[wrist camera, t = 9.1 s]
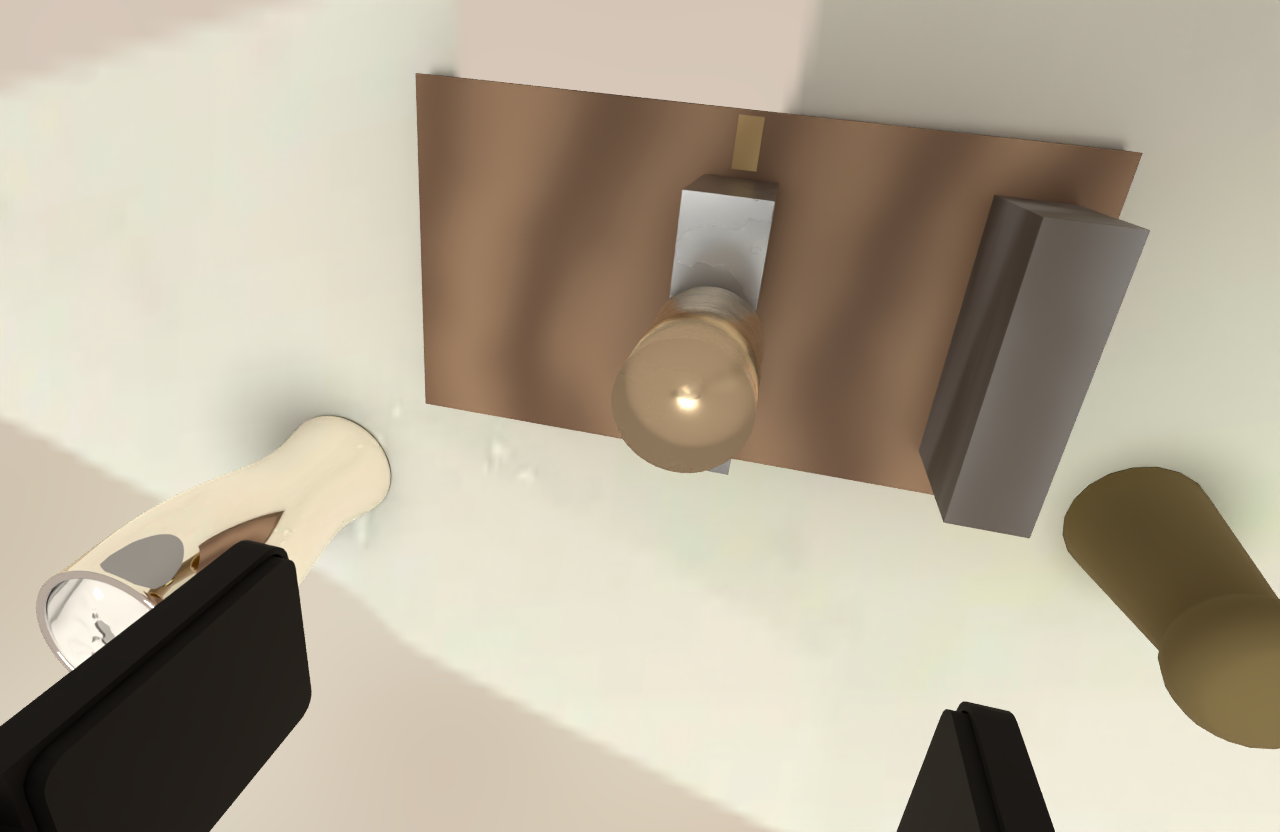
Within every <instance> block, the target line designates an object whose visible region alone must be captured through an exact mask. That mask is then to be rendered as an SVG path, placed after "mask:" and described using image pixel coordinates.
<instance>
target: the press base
mask: <svg viewBox="0 0 1280 832" xmlns="http://www.w3.org/2000/svg"><path fill="white" fill-rule="evenodd" d="M416 101H417V134H418V166H419V199H420V232H421V265H422V298H423V331H424V364H425V397H426V404H432V405H437V406H443V407H449V408H454V409H460V410H465V411H471V412H476V413H482V414H488V415H493V416H499V417H504V418H510V419H515V420H521V421H526V422H532V423H538V424H543V425H549V426H554V427H560V428H565V429H571V430H576V431H582V432H588V433H593V434H599V435H604V436H610V437H615V438H621V439H623V438H622V437H621V435H620V433H619V431H618V429H617V427H616V424H615V422H614V418H613V414H612V406H611V396H612V390H613V385H614V382H615V379H616V377H617V375H618V373H619V371H620V369H621V368H622V366H623V365H624V363H625V362H626V360H627V359H628V357H629V356H630V354H631V353H632V351H633V350H634V348H635V347H636V345H637V344H638V342H639V341H640V339H641V338H642V337H643V335H644V334H645V332H646V331H647V329H648V328H649V326H650V325H651V323H652V322H653V320H654V319H655V317H656V316H657V314H658V313H659V311H660V310H661V308H662V307H663V306H664V305H665V304H666V302H668V301H669V298H670V289H671V281H672V273H673V264H674V256H675V247H676V239H677V230H678V222H679V213H680V205H681V196H682V190H683V189H684V188H685V187H687V186H688V185H689V184H691V183H692V182H693V181H695V180H696V179H698V178H699V177H700V176H702V175H703V174H710V175H718V176H726V177H734V178H742V179H750V180H758V181H766V182H775V183H779V187H778V193H777V199H776V205H775V211H774V216H773V222H772V228H771V234H770V240H769V245H768V251H767V257H766V263H765V269H764V274H763V280H762V286H761V292H760V298H759V303H758V309H757V316H758V318H759V320H760V322H761V324H762V328H763V331H764V337H765V347H764V355H763V362H762V370H761V377H760V385H759V392H758V399H757V407H756V414H755V421H754V425H753V429H752V431H751V434H750V436H749V438H748V440H747V442H746V443H745V445H744V446H743V447H742V449H741V450H740V451H739V452H738V453H737V454H736V455H735V456H734V457H733V458H732V459H738V460H743V461H749V462H754V463H760V464H765V465H771V466H776V467H782V468H788V469H793V470H799V471H804V472H810V473H815V474H821V475H826V476H832V477H838V478H843V479H849V480H854V481H860V482H865V483H871V484H876V485H882V486H888V487H893V488H899V489H904V490H910V491H915V492H921V493H927V494H932V495H934V496H935V499H936V502H937V505H938V508H939V510H940V513H941V516H942V519H943V522H944V523H949V524H955V525H960V526H966V527H971V528H977V529H982V530H987V531H993V532H998V533H1004V534H1009V535H1014V536H1020V537H1025V538H1030V536H1031V533H1032V531H1033V528H1034V526H1035V523H1036V521H1037V518H1038V516H1039V513H1040V510H1041V508H1042V505H1043V503H1044V500H1045V498H1046V495H1047V493H1048V490H1049V487H1050V485H1051V482H1052V480H1053V477H1054V475H1055V472H1056V470H1057V467H1058V464H1059V462H1060V459H1061V457H1062V454H1063V452H1064V449H1065V447H1066V444H1067V441H1068V439H1069V436H1070V434H1071V431H1072V429H1073V426H1074V423H1075V421H1076V418H1077V416H1078V413H1079V411H1080V408H1081V406H1082V403H1083V400H1084V398H1085V395H1086V393H1087V390H1088V388H1089V385H1090V383H1091V380H1092V377H1093V375H1094V372H1095V370H1096V367H1097V365H1098V362H1099V360H1100V357H1101V354H1102V352H1103V349H1104V347H1105V344H1106V342H1107V339H1108V337H1109V334H1110V331H1111V329H1112V326H1113V324H1114V321H1115V319H1116V316H1117V314H1118V311H1119V308H1120V306H1121V303H1122V301H1123V298H1124V296H1125V293H1126V291H1127V288H1128V285H1129V283H1130V280H1131V278H1132V275H1133V273H1134V270H1135V268H1136V265H1137V262H1138V260H1139V257H1140V255H1141V252H1142V250H1143V247H1144V245H1145V242H1146V239H1147V237H1148V234H1149V232H1150V230H1148V229H1145V228H1142V227H1139V226H1136V225H1133V224H1131V223H1128V222H1125V221H1122V220H1119V219H1118V218H1119V215H1120V213H1121V210H1122V207H1123V205H1124V202H1125V199H1126V197H1127V194H1128V191H1129V188H1130V186H1131V183H1132V180H1133V178H1134V175H1135V172H1136V170H1137V167H1138V164H1139V161H1140V159H1141V156H1142V153H1138V152H1131V151H1123V150H1114V149H1105V148H1096V147H1087V146H1078V145H1069V144H1060V143H1050V142H1041V141H1032V140H1023V139H1014V138H1005V137H996V136H987V135H978V134H968V133H959V132H950V131H941V130H932V129H923V128H914V127H905V126H896V125H886V124H877V123H868V122H859V121H850V120H841V119H832V118H823V117H814V116H805V115H795V114H786V113H777V112H768V111H759V110H750V109H741V108H732V107H722V106H713V105H704V104H695V103H686V102H676V101H667V100H658V99H650V98H641V97H631V96H622V95H613V94H604V93H595V92H586V91H577V90H567V89H559V88H549V87H540V86H531V85H522V84H513V83H504V82H494V81H485V80H477V79H468V78H458V77H449V76H440V75H431V74H419V73H416Z"/></svg>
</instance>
